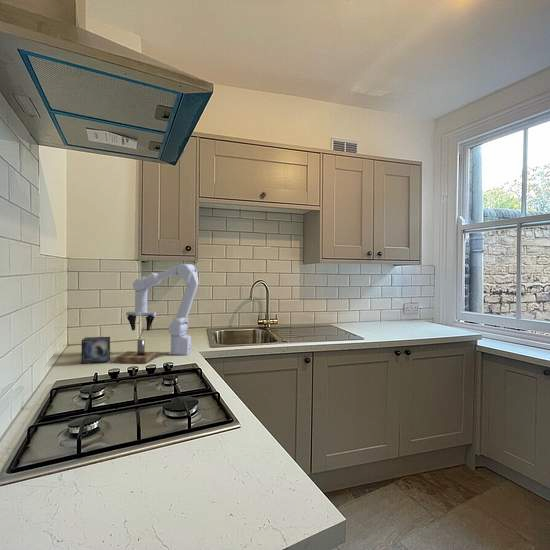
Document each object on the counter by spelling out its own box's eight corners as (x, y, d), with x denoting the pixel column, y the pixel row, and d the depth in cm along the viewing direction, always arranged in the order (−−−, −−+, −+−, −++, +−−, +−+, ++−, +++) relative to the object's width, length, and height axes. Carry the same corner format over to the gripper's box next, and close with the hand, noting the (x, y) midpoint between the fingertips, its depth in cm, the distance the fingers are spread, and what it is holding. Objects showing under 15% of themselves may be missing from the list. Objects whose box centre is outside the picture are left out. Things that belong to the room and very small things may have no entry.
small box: (80, 364, 148) (80, 340, 148) (84, 360, 155) (84, 337, 155) (107, 363, 151) (107, 339, 151) (110, 359, 157) (110, 336, 157)
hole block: (156, 357, 162) (156, 352, 162) (146, 363, 151) (146, 357, 151) (127, 356, 163) (127, 351, 163) (115, 362, 152) (115, 356, 152)
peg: (145, 359, 158) (145, 339, 158) (143, 360, 155) (143, 340, 155) (138, 359, 158) (138, 339, 158) (136, 360, 155) (136, 340, 155)
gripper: (123, 303, 170) (122, 331, 171) (151, 304, 169) (151, 332, 170) (130, 302, 177) (129, 329, 178) (157, 302, 176) (157, 329, 177)
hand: (140, 330), depth 174 cm, fingers open, 7 cm apart
